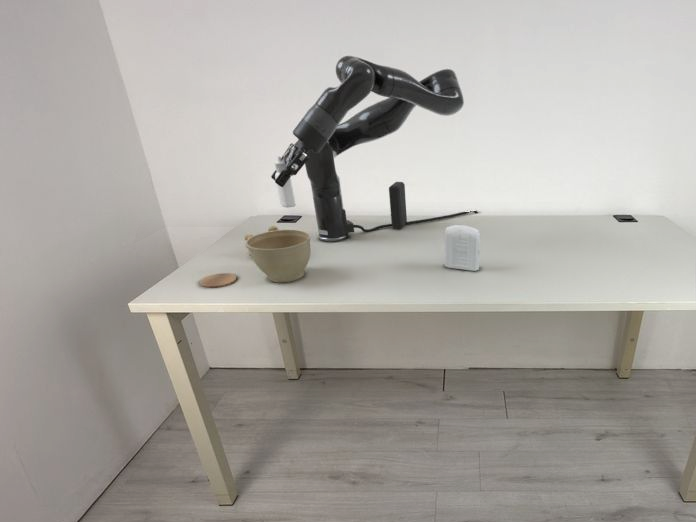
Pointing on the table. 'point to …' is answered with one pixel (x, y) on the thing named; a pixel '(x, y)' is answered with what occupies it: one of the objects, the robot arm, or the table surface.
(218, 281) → the cork coaster
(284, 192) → the eye dropper bottle
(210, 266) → the table surface
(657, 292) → the table surface
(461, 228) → the white arched tombstone
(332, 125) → the robot arm
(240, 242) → the table surface
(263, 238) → the planter bowl
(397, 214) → the card reader
